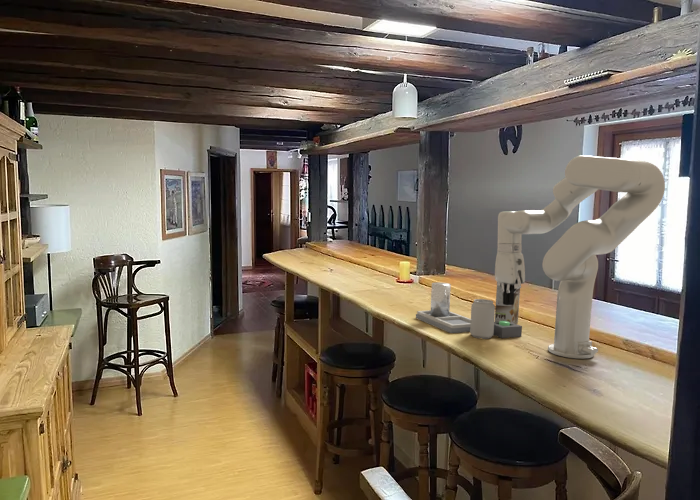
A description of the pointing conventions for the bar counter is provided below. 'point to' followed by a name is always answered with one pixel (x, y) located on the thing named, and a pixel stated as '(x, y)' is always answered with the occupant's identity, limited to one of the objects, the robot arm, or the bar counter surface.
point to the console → (507, 330)
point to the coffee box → (506, 307)
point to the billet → (440, 299)
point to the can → (482, 318)
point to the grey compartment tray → (446, 321)
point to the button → (504, 323)
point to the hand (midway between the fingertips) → (508, 304)
